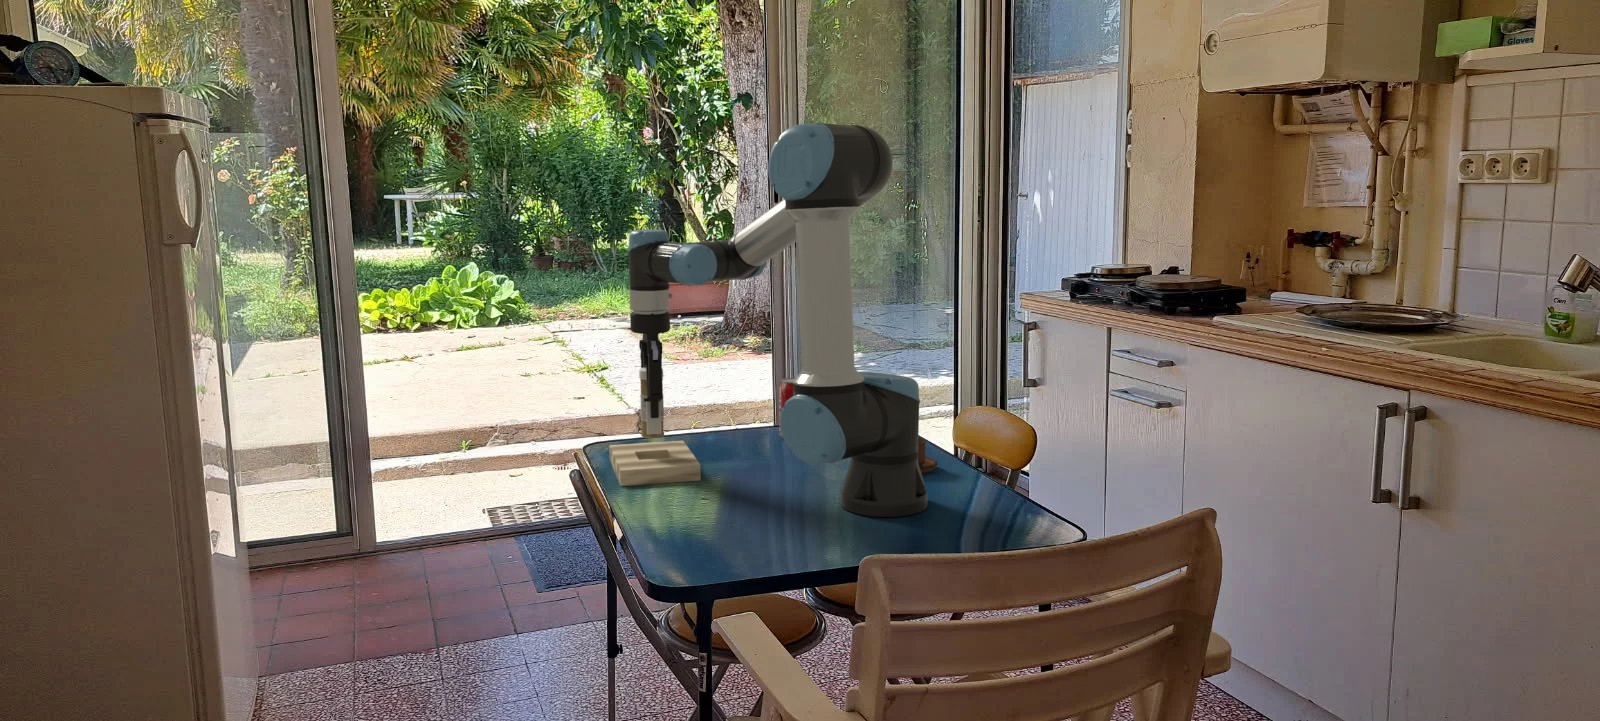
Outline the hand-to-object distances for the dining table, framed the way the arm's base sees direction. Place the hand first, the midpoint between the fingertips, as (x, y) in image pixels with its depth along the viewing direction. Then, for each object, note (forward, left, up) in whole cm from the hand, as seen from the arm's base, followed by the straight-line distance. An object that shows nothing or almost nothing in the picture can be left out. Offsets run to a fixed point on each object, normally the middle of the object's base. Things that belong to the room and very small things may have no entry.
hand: (652, 430), depth 215 cm
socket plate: (0, 0, -8) cm, 8 cm away
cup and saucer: (-14, -47, -8) cm, 50 cm away
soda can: (+18, -34, -8) cm, 39 cm away
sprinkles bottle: (0, 0, -1) cm, 1 cm away
